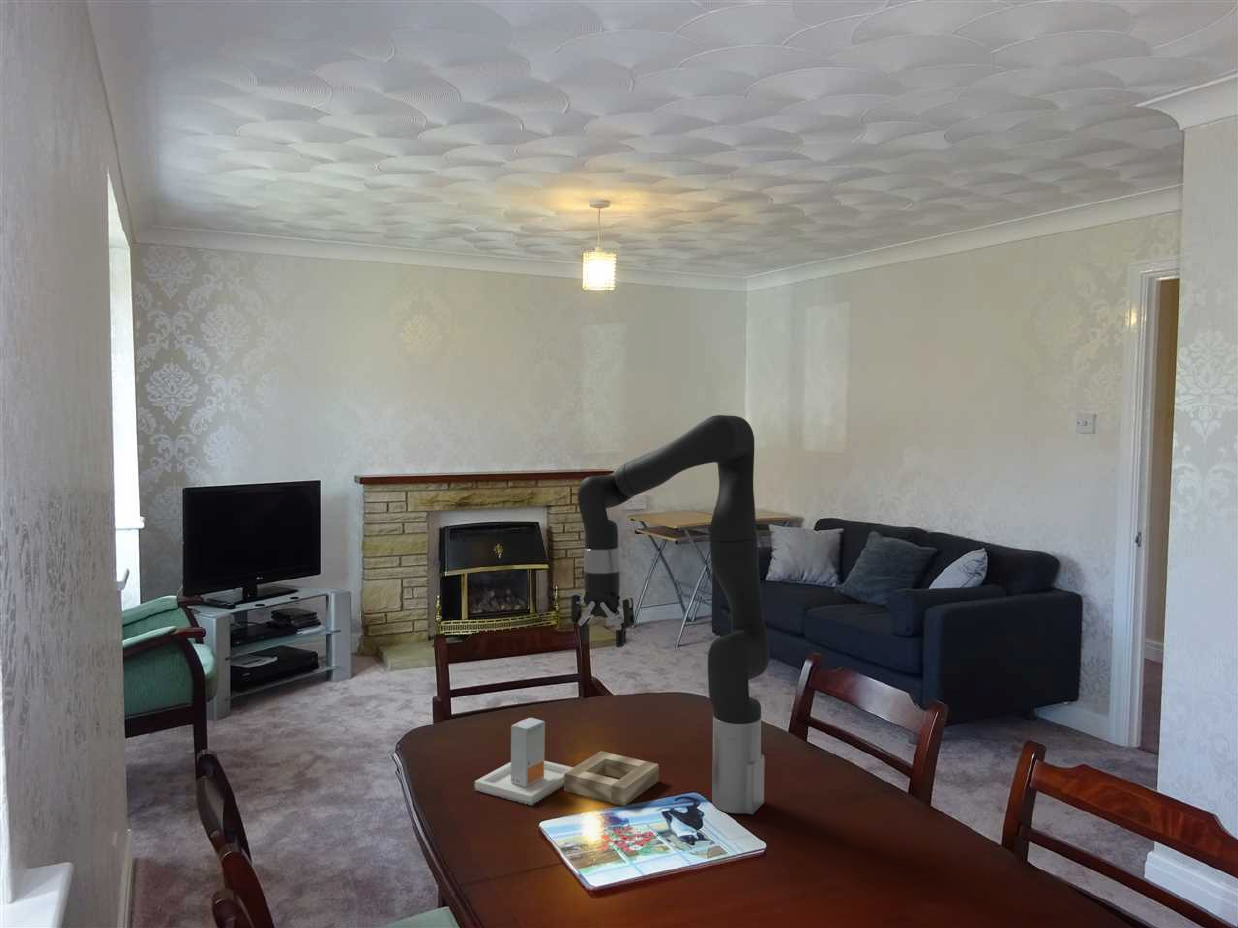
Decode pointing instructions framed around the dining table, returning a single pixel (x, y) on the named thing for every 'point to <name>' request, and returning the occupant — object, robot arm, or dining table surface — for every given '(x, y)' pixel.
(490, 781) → the grey tray
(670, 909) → the dining table surface
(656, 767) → the frame
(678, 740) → the dining table surface
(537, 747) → the skincare box
